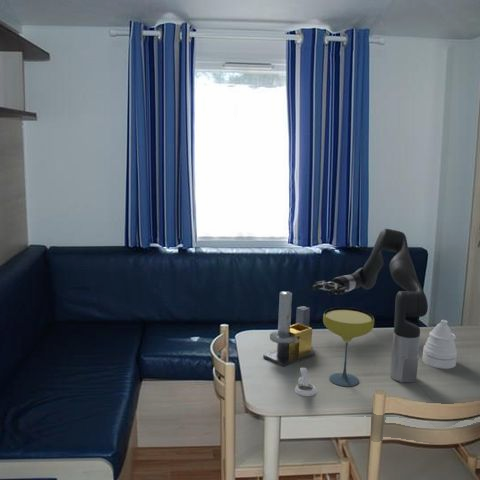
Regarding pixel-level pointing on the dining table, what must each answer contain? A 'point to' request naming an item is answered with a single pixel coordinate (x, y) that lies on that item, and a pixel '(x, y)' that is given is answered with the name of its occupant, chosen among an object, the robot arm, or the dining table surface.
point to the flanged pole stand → (289, 336)
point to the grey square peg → (303, 315)
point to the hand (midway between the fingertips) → (320, 290)
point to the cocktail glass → (347, 334)
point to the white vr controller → (305, 384)
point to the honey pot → (440, 347)
